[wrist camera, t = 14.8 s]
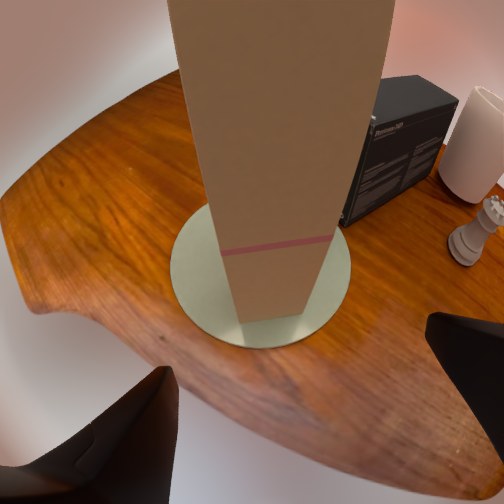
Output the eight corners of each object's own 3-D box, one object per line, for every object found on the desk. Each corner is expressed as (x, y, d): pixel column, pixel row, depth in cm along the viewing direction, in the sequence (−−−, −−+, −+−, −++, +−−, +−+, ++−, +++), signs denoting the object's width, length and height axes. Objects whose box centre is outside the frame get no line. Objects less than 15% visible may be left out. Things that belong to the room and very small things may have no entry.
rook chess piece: (474, 274, 23) (517, 233, 16) (445, 258, 24) (485, 211, 17) (474, 242, 25) (511, 200, 18) (447, 227, 26) (481, 180, 19)
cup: (434, 196, 28) (483, 104, 16) (430, 157, 32) (464, 75, 20) (484, 220, 26) (539, 142, 14) (475, 178, 30) (515, 106, 18)
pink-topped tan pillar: (303, 314, 21) (402, -52, 2) (239, 324, 21) (155, -69, 2) (292, 268, 23) (333, -53, 4) (233, 277, 23) (175, -53, 4)
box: (394, 145, 33) (418, 72, 23) (429, 175, 30) (464, 102, 20) (302, 186, 29) (314, 85, 19) (343, 230, 26) (379, 127, 16)
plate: (312, 380, 19) (313, 379, 19) (139, 297, 23) (137, 295, 23) (365, 223, 26) (367, 219, 26) (224, 174, 30) (223, 171, 30)
